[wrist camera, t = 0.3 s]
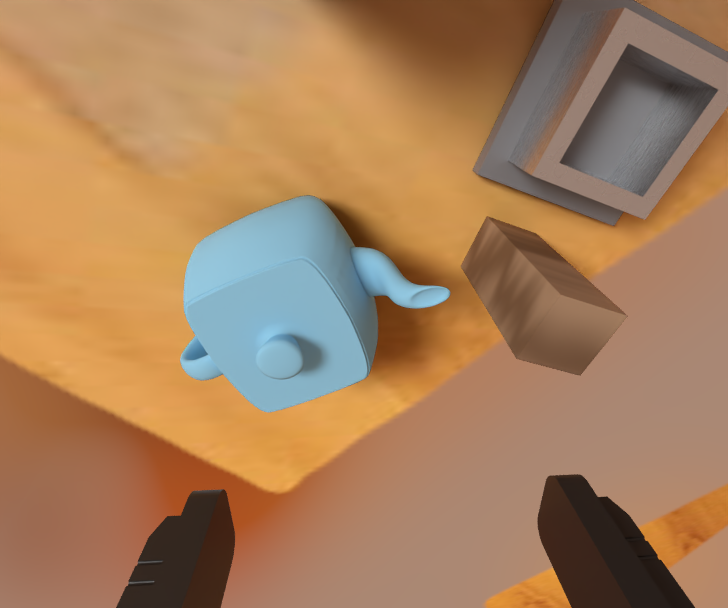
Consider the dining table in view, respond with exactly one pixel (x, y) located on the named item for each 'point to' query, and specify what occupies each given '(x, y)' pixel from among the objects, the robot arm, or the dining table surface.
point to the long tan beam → (539, 298)
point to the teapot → (289, 304)
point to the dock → (606, 109)
